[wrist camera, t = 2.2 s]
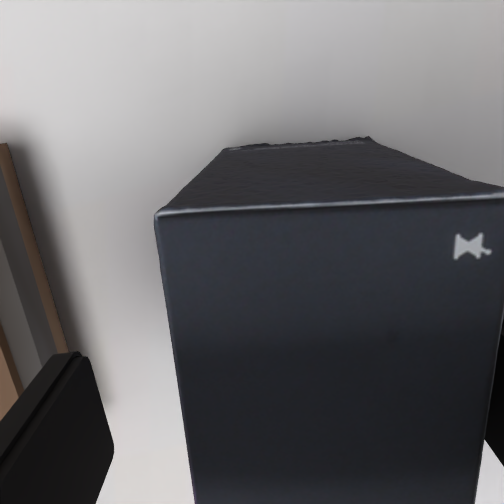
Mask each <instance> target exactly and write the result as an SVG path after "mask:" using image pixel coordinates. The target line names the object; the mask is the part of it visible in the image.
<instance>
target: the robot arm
mask: <svg viewBox="0 0 504 504" xmlns="http://www.w3.org/2000/svg"><path fill="white" fill-rule="evenodd" d="M484 439H485V441H486V442H487V443H488V445H489V446H490V448H491V449H492V450H493V452H494V453H495V455H496V456H497V458H498V459H499V460H500V462H501V463H502V465H503V466H504V315H503V322H502V328H501V334H500V340H499V345H498V351H497V359H496V367H495V374H494V380H493V387H492V393H491V399H490V405H489V412H488V418H487V426H486V433H485V438H484ZM113 455H114V443H113V439H112V436H111V432H110V429H109V425H108V422H107V418H106V415H105V412H104V408H103V405H102V401H101V398H100V394H99V391H98V387H97V384H96V380H95V377H94V373H93V370H92V366H91V363H90V360H89V358H88V357H86V356H85V357H83V356H82V355H81V353H80V352H78V351H76V352H67V353H58V354H53V355H52V356H51V357H50V358H49V360H48V361H47V362H46V364H45V365H44V366H43V367H42V369H41V370H40V371H39V372H38V374H37V375H36V376H35V378H34V379H33V380H32V381H31V383H30V384H29V385H28V387H27V388H26V389H25V390H24V392H23V393H22V394H21V395H20V397H19V398H18V399H17V401H16V402H15V403H14V404H13V406H12V407H11V408H10V410H9V411H8V412H7V413H6V415H5V416H4V417H3V418H2V420H1V421H0V504H96V501H97V498H98V496H99V493H100V491H101V488H102V485H103V483H104V480H105V477H106V475H107V472H108V470H109V467H110V464H111V462H112V459H113Z"/></svg>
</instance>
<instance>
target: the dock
mask: <svg viewBox="0 0 504 504" xmlns="http://www.w3.org/2000/svg"><path fill="white" fill-rule="evenodd" d="M67 352H69V351H68V348H67V344H66V341H65V337H64V334H63V331H62V327H61V324H60V321H59V317H58V314H57V311H56V307H55V304H54V300H53V297H52V294H51V290H50V287H49V284H48V280H47V277H46V273H45V270H44V267H43V263H42V260H41V257H40V253H39V250H38V247H37V243H36V240H35V236H34V233H33V230H32V226H31V223H30V220H29V216H28V213H27V209H26V206H25V203H24V199H23V196H22V193H21V189H20V186H19V182H18V179H17V176H16V172H15V169H14V166H13V162H12V159H11V156H10V152H9V149H8V145H7V143H4V144H0V421H1V420H2V418H3V417H4V416H5V415H6V413H7V412H8V411H9V410H10V408H11V407H12V406H13V404H14V403H15V402H16V401H17V399H18V398H19V397H20V395H21V394H22V393H23V392H24V390H25V389H26V388H27V387H28V385H29V384H30V383H31V381H32V380H33V379H34V378H35V376H36V375H37V374H38V372H39V371H40V370H41V369H42V367H43V366H44V365H45V364H46V362H47V361H48V360H49V358H50V357H51V356H52V355H53V354H58V353H67Z"/></svg>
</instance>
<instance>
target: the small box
mask: <svg viewBox="0 0 504 504" xmlns="http://www.w3.org/2000/svg"><path fill="white" fill-rule="evenodd" d="M154 229H155V235H156V241H157V248H158V254H159V260H160V270H161V276H162V283H163V289H164V295H165V301H166V308H167V315H168V321H169V328H170V335H171V342H172V348H173V355H174V362H175V369H176V376H177V382H178V389H179V396H180V403H181V409H182V416H183V423H184V430H185V437H186V444H187V451H188V458H189V465H190V472H191V479H192V486H193V494H194V501H195V504H475V498H476V492H477V485H478V478H479V471H480V466H481V459H482V451H483V444H484V438H485V433H486V426H487V418H488V412H489V405H490V399H491V393H492V387H493V380H494V374H495V367H496V359H497V351H498V345H499V340H500V334H501V328H502V322H503V315H504V187H501V186H496V185H491V184H487V183H483V182H478V181H472V180H469V179H466V178H464V177H462V176H460V175H457V174H454V173H451V172H449V171H446V170H445V169H442V168H439V167H437V166H434V165H433V164H429V163H427V162H424V161H421V160H419V159H416V158H414V157H411V156H409V155H407V154H404V153H402V152H400V151H397V150H394V149H391V148H388V147H386V146H383V145H381V144H378V143H376V142H375V141H374V140H372V138H370V137H369V136H368V137H366V138H360V137H358V138H354V139H349V140H346V141H338V140H332V141H330V142H329V141H322V142H316V143H312V142H308V143H298V144H291V143H286V144H280V145H277V144H275V145H269V144H267V143H263V144H255V145H247V146H241V147H237V148H225V149H223V150H222V151H221V152H220V153H219V154H218V155H217V156H216V157H215V158H214V159H213V160H212V161H211V162H210V163H209V164H208V165H207V166H206V167H205V168H204V169H203V170H202V171H201V172H200V173H199V174H198V175H197V176H196V177H195V178H194V179H193V180H192V181H191V182H189V184H188V185H186V186H185V187H184V188H183V189H182V190H181V191H180V192H179V193H178V194H177V195H176V197H174V198H173V199H172V200H171V201H170V202H169V203H168V204H167V205H166V206H164V207H162V208H161V209H160V210H158V211H157V212H156V213H155V215H154Z"/></svg>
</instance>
